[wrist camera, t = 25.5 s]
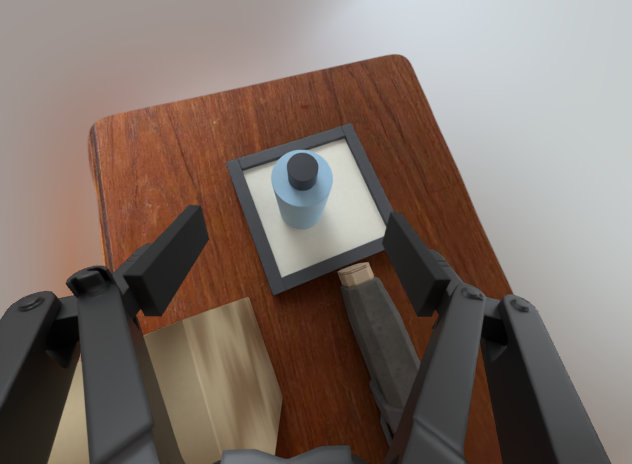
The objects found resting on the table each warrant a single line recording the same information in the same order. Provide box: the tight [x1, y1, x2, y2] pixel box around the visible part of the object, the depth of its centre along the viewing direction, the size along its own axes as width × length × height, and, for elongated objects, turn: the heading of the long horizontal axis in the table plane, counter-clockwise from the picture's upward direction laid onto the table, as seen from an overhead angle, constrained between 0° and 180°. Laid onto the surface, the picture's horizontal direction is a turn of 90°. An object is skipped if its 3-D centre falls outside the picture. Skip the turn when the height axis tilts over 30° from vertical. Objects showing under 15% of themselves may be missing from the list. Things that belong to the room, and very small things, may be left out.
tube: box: [338, 262, 421, 448], centre depth 23 cm, size 11×7×30 cm
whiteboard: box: [226, 123, 393, 296], centre depth 30 cm, size 18×18×2 cm
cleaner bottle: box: [271, 150, 333, 229], centre depth 24 cm, size 6×6×11 cm
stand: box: [48, 297, 283, 464], centre depth 18 cm, size 12×12×16 cm
